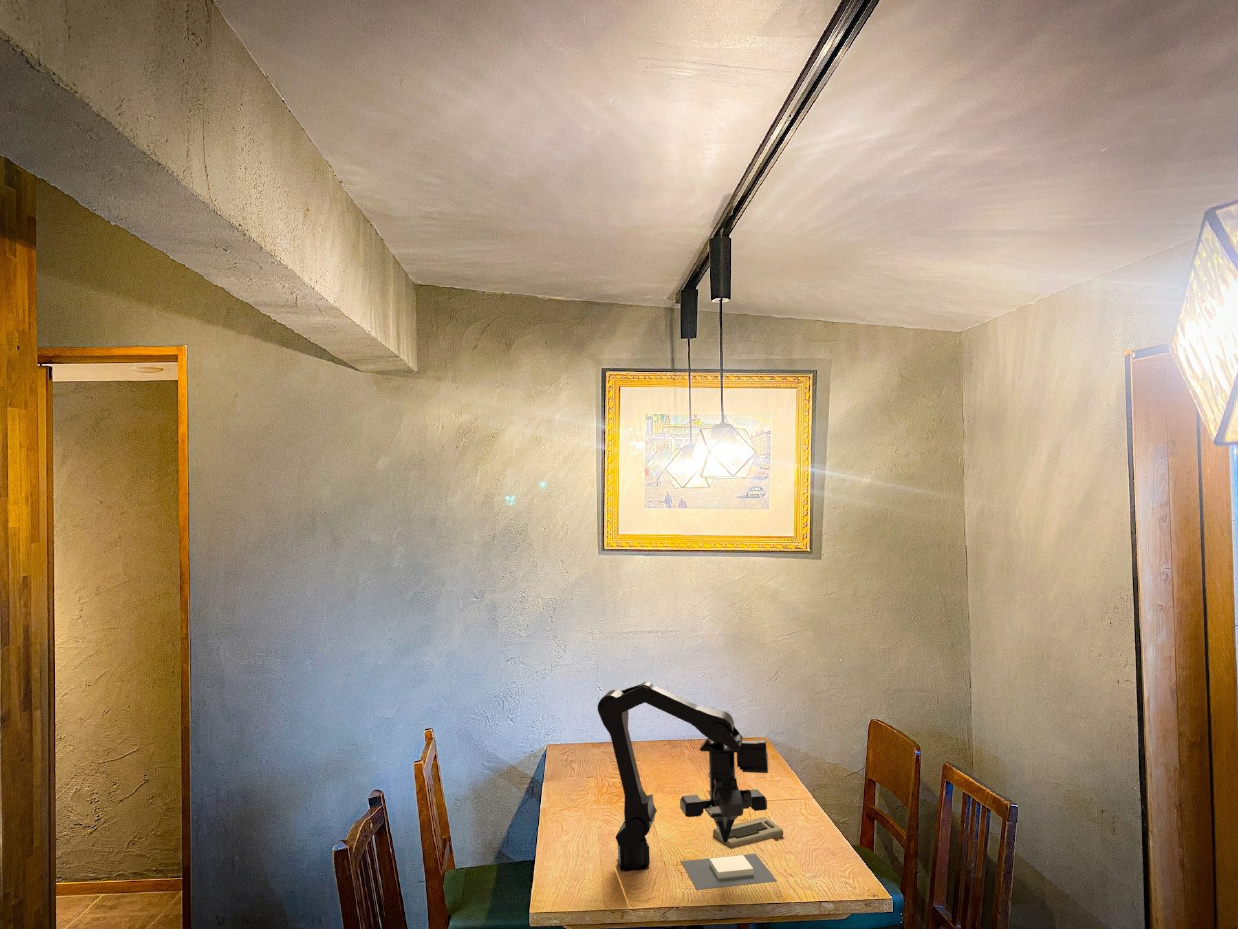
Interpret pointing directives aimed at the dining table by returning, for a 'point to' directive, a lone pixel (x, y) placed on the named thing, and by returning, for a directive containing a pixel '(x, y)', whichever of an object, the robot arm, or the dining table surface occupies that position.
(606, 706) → the robot arm
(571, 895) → the dining table surface
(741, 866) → the tile
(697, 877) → the mat
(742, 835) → the computer
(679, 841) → the dining table surface
